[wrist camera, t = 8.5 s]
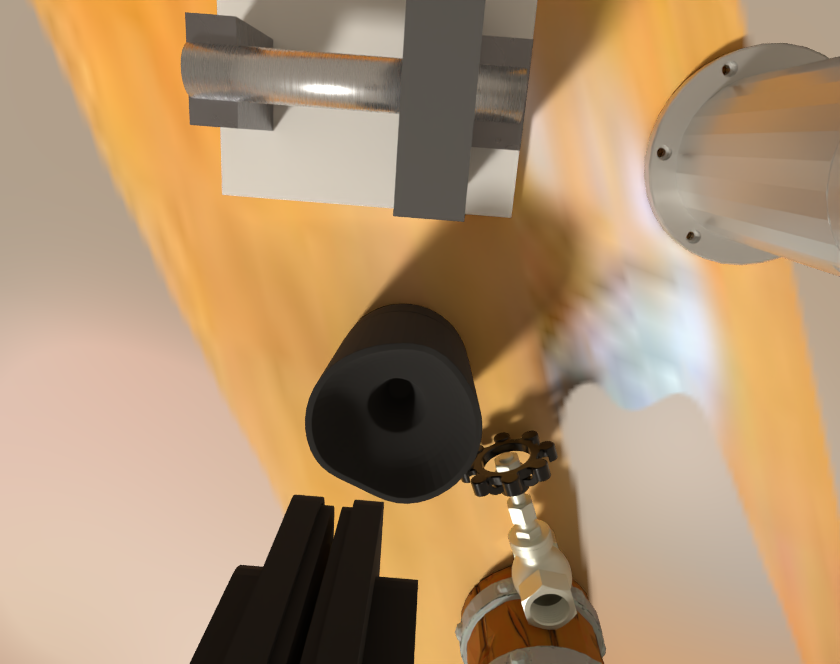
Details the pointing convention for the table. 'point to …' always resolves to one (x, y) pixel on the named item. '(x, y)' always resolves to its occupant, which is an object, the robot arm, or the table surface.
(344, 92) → the pipe
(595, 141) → the table surface
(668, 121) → the robot arm
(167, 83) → the table surface
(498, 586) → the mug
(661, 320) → the table surface
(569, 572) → the valve
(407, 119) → the collar
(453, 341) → the pen holder
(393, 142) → the base board
